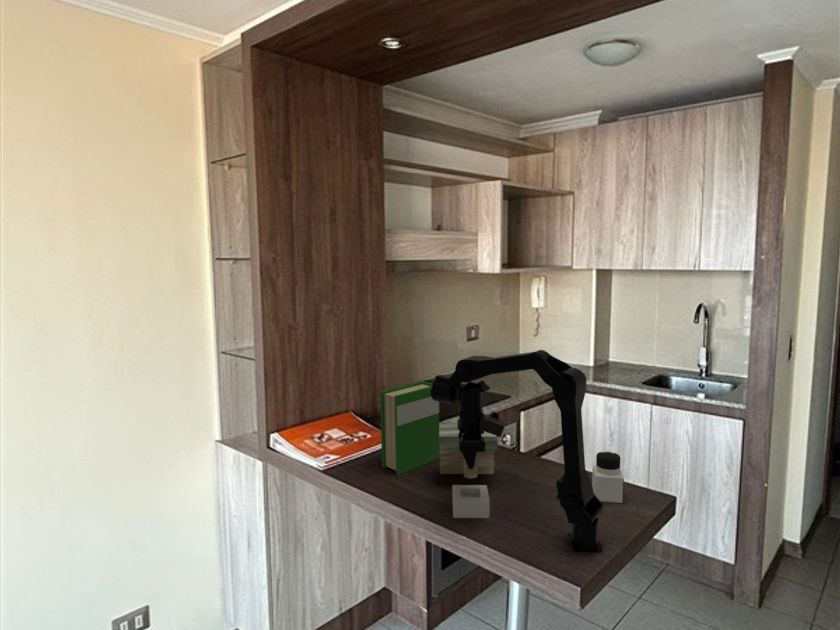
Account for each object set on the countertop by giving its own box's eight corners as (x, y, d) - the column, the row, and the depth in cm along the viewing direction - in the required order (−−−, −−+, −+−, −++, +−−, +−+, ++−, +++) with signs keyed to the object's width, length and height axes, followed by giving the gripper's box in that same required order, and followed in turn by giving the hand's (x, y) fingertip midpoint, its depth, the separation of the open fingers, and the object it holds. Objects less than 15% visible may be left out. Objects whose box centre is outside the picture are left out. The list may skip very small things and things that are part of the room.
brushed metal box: (497, 489, 153) (497, 437, 151) (439, 488, 154) (439, 436, 152) (493, 471, 165) (493, 423, 163) (439, 471, 166) (439, 422, 164)
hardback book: (398, 475, 163) (396, 396, 160) (381, 467, 169) (380, 391, 166) (439, 458, 176) (438, 385, 172) (423, 452, 181) (422, 381, 178)
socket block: (489, 518, 137) (489, 501, 136) (453, 517, 137) (453, 500, 137) (486, 501, 146) (486, 485, 145) (452, 501, 146) (452, 484, 146)
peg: (477, 478, 139) (477, 444, 138) (463, 478, 139) (463, 443, 138) (477, 472, 142) (477, 439, 141) (463, 472, 142) (463, 439, 141)
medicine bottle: (623, 503, 144) (624, 459, 142) (594, 501, 145) (595, 457, 144) (618, 491, 151) (620, 449, 149) (591, 489, 152) (593, 447, 151)
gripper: (507, 418, 129) (506, 481, 131) (499, 396, 147) (498, 452, 149) (459, 418, 129) (459, 481, 131) (457, 396, 148) (457, 452, 150)
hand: (470, 466), depth 140 cm, fingers closed on peg, 3 cm apart
